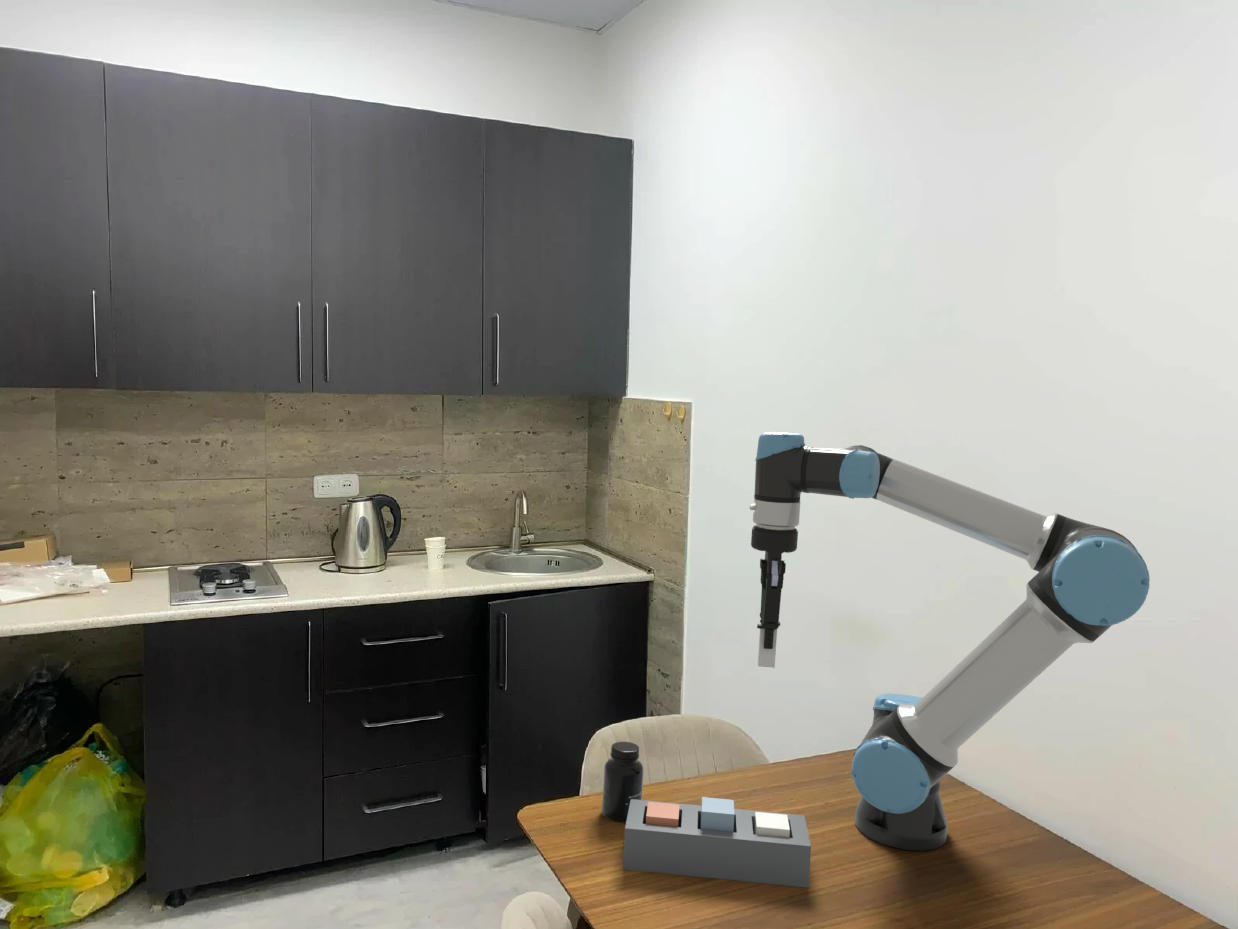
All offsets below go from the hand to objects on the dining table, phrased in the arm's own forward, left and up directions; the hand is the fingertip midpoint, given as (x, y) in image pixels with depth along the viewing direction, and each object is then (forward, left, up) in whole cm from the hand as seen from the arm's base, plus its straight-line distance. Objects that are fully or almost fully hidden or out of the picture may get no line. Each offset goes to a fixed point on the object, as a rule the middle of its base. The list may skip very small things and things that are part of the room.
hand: (766, 665), depth 150 cm
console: (+7, +12, -28) cm, 32 cm away
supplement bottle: (+23, -1, -29) cm, 37 cm away
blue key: (+7, +12, -24) cm, 28 cm away
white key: (-2, +12, -26) cm, 29 cm away
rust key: (+15, +12, -26) cm, 32 cm away
